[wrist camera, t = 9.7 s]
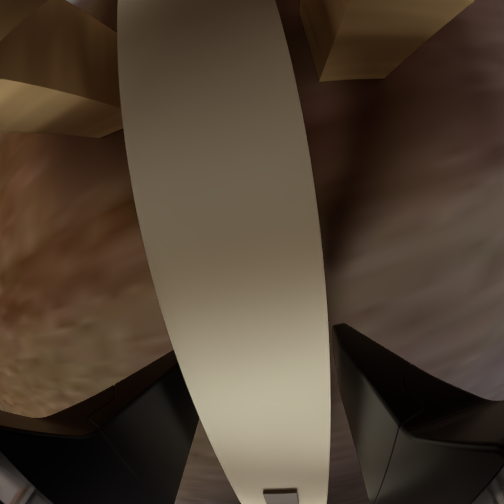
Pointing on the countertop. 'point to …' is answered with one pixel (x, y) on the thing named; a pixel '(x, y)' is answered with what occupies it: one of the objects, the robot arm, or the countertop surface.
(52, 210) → the countertop surface
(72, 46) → the wooden arc block
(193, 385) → the cream notched bar
